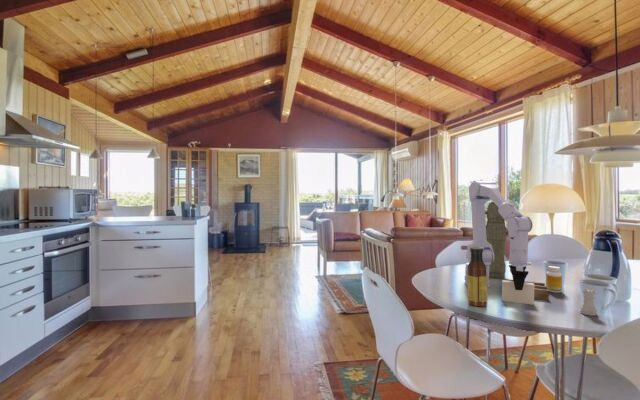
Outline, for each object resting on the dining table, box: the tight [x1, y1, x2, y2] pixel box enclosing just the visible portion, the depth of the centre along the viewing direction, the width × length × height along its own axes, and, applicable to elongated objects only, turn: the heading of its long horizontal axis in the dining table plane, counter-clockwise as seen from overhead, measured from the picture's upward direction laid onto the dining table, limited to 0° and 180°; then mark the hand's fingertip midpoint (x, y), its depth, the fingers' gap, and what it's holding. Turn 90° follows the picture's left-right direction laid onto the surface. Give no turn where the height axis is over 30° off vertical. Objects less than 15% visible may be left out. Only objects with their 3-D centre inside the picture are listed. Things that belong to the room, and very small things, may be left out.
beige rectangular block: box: [501, 279, 535, 306], centre depth 126 cm, size 10×3×7 cm, turn 64°
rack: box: [501, 278, 550, 301], centre depth 137 cm, size 15×13×4 cm
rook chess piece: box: [580, 288, 598, 317], centre depth 114 cm, size 4×4×8 cm
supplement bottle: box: [545, 265, 563, 294], centre depth 141 cm, size 5×5×10 cm
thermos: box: [485, 201, 509, 280], centre depth 164 cm, size 9×12×35 cm
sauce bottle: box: [467, 247, 488, 308], centre depth 122 cm, size 7×6×20 cm
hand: (517, 287), depth 126 cm, fingers open, 7 cm apart
